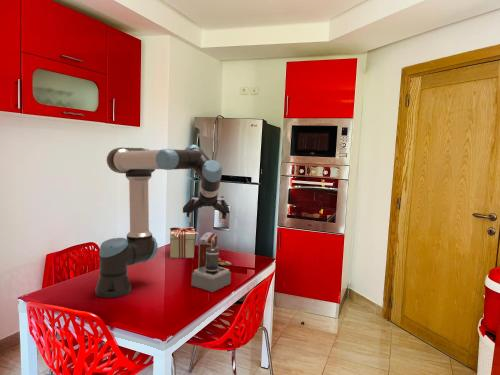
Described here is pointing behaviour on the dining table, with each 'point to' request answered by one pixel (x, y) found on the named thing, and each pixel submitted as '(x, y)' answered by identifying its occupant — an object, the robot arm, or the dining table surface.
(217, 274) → the square picture frame
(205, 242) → the cine camera
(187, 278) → the dining table surface
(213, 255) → the lens
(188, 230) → the gift box
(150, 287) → the dining table surface
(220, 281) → the square shallow tray
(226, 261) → the pastry
